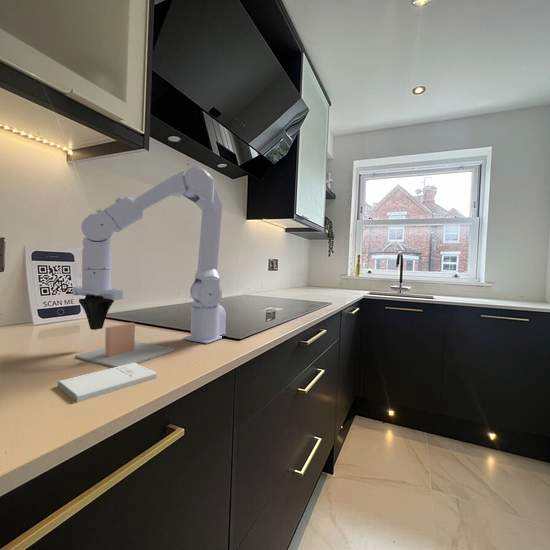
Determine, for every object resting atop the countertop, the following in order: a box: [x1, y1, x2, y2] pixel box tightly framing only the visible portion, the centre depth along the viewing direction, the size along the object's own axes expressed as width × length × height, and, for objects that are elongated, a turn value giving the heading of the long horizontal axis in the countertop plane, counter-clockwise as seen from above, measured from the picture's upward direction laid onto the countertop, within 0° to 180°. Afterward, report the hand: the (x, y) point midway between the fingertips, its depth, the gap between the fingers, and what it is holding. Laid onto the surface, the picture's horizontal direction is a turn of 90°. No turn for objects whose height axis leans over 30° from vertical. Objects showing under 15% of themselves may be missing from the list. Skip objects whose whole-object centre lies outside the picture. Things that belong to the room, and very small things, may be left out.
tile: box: [104, 322, 136, 357], centre depth 65 cm, size 6×2×6 cm, turn 155°
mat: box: [74, 340, 176, 368], centre depth 65 cm, size 14×14×1 cm
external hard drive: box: [57, 363, 158, 403], centre depth 50 cm, size 2×8×12 cm
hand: (96, 328), depth 68 cm, fingers closed
